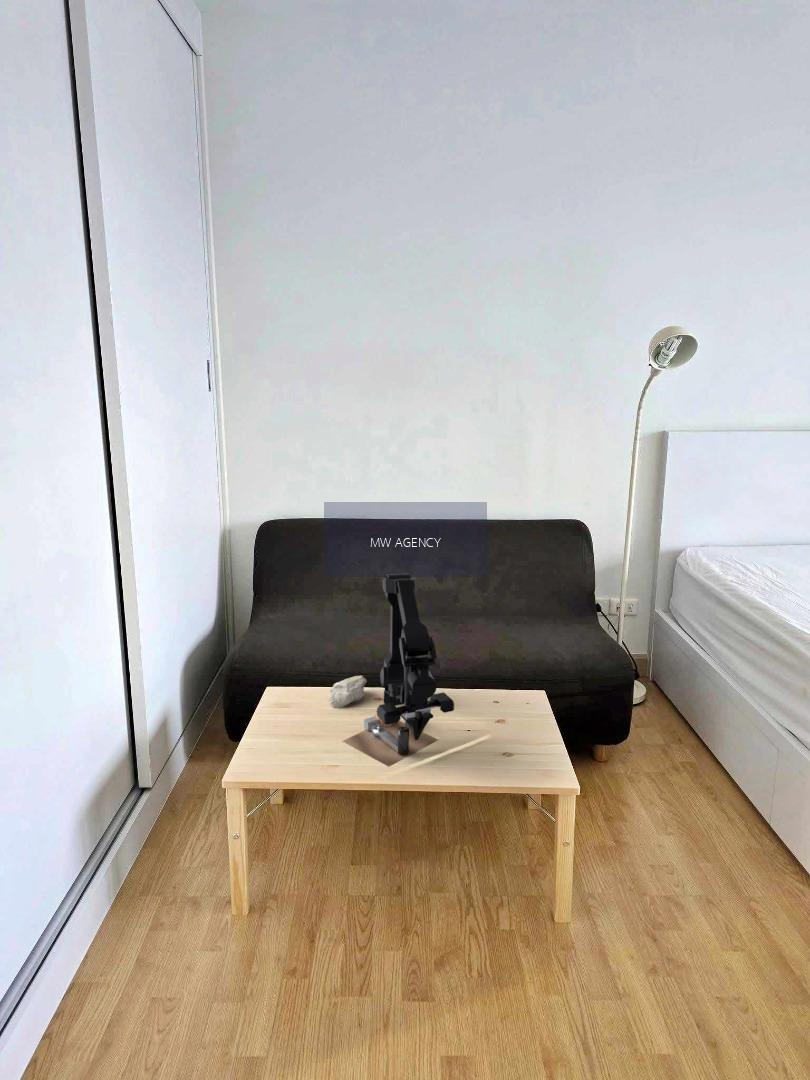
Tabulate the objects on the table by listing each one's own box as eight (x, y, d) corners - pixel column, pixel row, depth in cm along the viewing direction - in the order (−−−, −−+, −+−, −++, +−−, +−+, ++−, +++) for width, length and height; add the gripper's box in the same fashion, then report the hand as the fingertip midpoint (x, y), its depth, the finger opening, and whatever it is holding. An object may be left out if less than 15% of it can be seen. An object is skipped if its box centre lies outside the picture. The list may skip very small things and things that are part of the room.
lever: (375, 724, 195) (375, 702, 194) (412, 752, 181) (412, 729, 180) (363, 727, 193) (363, 706, 192) (400, 756, 179) (400, 733, 178)
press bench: (398, 717, 202) (398, 702, 200) (444, 739, 190) (445, 723, 189) (342, 744, 187) (342, 728, 186) (388, 770, 176) (388, 753, 175)
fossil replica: (321, 710, 206) (354, 718, 203) (321, 684, 203) (355, 692, 200) (338, 689, 217) (370, 697, 214) (339, 664, 214) (371, 672, 211)
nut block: (385, 720, 198) (385, 708, 197) (392, 725, 195) (392, 713, 194) (374, 723, 196) (374, 711, 195) (381, 729, 193) (381, 717, 192)
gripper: (435, 663, 190) (435, 718, 193) (368, 675, 182) (369, 732, 186) (455, 679, 180) (454, 737, 183) (385, 693, 172) (385, 753, 176)
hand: (415, 739), depth 182 cm, fingers closed
